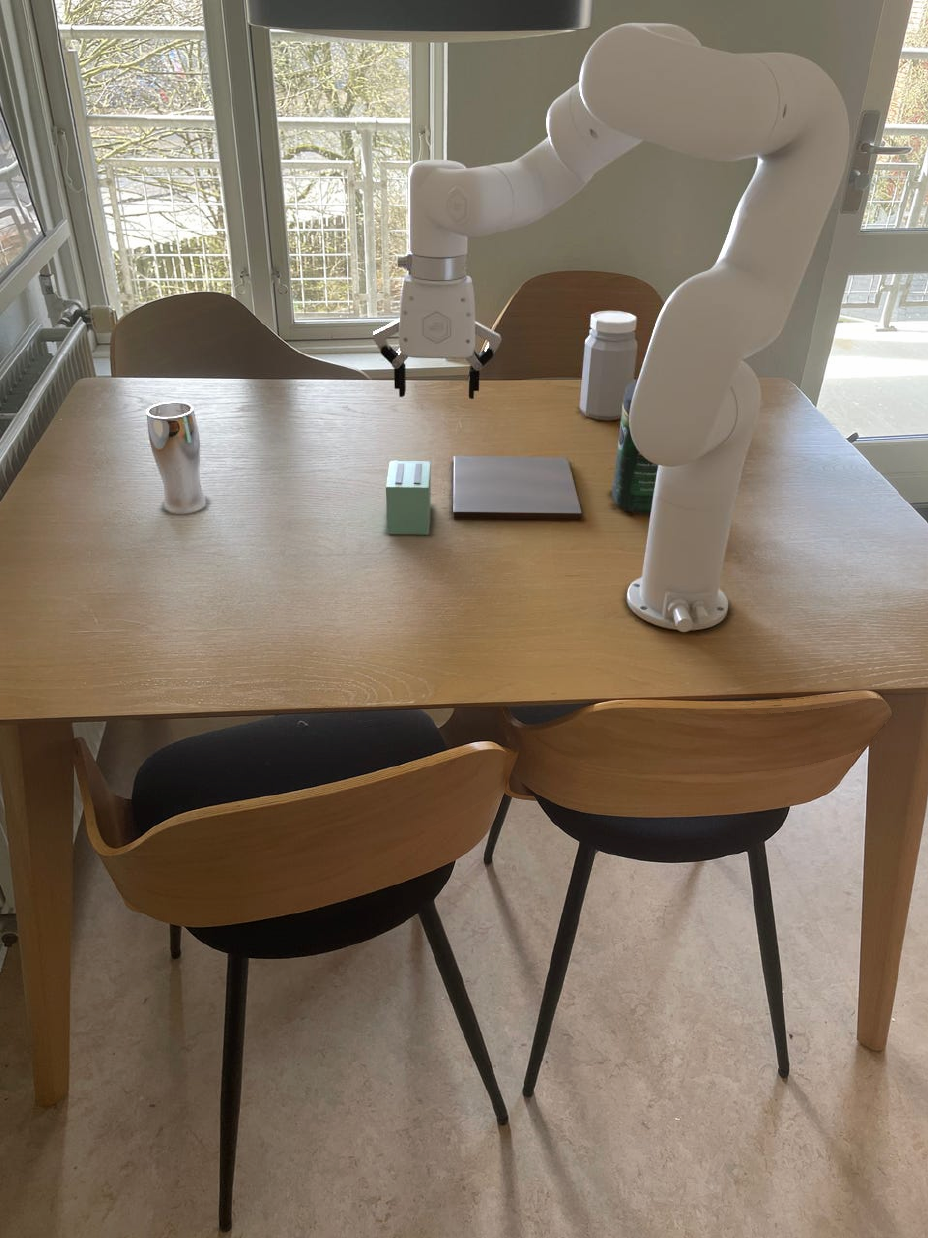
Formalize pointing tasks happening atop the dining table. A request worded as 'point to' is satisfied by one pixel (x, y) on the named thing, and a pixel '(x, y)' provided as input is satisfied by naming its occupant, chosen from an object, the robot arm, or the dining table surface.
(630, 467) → the coffee jar
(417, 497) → the toaster
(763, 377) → the dining table surface
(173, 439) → the beer glass
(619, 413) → the jar
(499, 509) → the board
